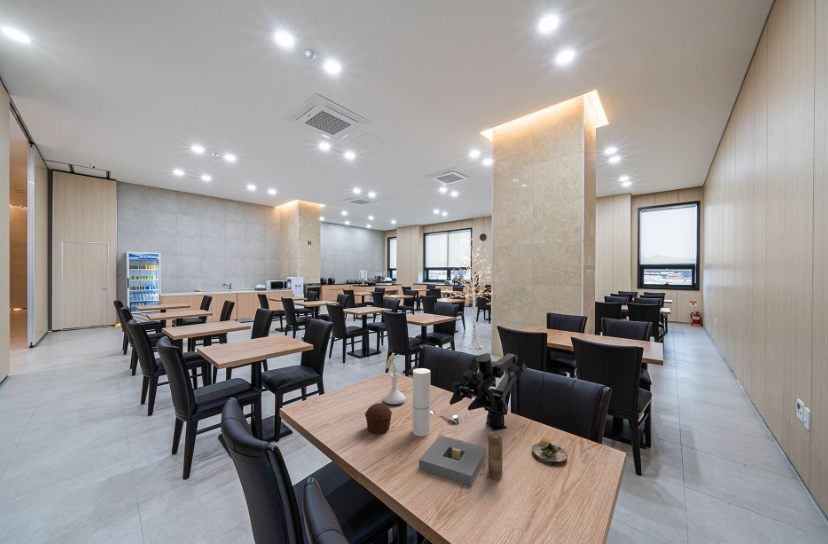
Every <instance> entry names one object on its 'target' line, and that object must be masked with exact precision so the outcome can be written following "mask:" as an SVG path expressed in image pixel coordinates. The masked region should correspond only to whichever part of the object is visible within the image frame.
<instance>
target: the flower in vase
mask: <svg viewBox="0 0 828 544" xmlns="http://www.w3.org/2000/svg"><path fill="white" fill-rule="evenodd" d="M394 360H395V354H394V353H392V354H391V355H389V357H388V360H387V361H386V364H385V369H387V370H388V369H389V368H390V367H392V368H391V371H392V373H389V377H390V378H391V384H392V385H391V390H389V391H388V392H387V393H385V395H383V398H382V400H383V402H384V403H386V404H387V405H388V404H389V405H400V404H402V403H404V402H405V401H406V395H404V394H403V392H401V391H400V390H398V378H399V376H400V373H397V368H396V366H395V364H394Z"/></svg>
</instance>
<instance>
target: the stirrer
mask: <svg viewBox="0 0 828 544" xmlns="http://www.w3.org/2000/svg"><path fill="white" fill-rule="evenodd" d="M432 414H433V416H437V417H446V418H448V419H450V420H451V421H453V422H454V423H455V424H457V425H459V424H461V423H462V419H461V417H460V416H459V415H457V414H448V415H447V414H446V415H445V414H438V413H437V412H436V411H434V410H433V409H432V408H431V407H430V415H432Z"/></svg>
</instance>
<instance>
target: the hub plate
mask: <svg viewBox="0 0 828 544" xmlns="http://www.w3.org/2000/svg"><path fill="white" fill-rule="evenodd" d="M449 456H450V457H449ZM487 457H488V447H486V446H482V445H479V444H475V443H471V442H467V441H464V440H460V439H455V438H452V437H449V436H445V435H442V434H441V435H439V436H438V437H437V438H436V440H435V441H434V442H433V443H432V444H431V445H430V446H429V448H427V450H425V452H424V453H423V454H422V456H421V457H420V458H419V459H418V469H419V470H421V471H425V472H428V473H431V474H434V475H438V476H440V477H443V478H447V479H449V480H453V481H456V482H458V483H461V484H465V485H468V486H473V484H474V481H475V480H476V477H477V476H478V474H479V472H480V471H481V468H482V466H483V464H484V462H485V460H486V458H487Z"/></svg>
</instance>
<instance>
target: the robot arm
mask: <svg viewBox="0 0 828 544" xmlns="http://www.w3.org/2000/svg"><path fill="white" fill-rule="evenodd" d="M476 363H477V369H478V371H476V370H472V369H466V370H465V371H464V373H463V375H462V378H463V379H464V380H465V381H466V386H467V387H465V386H464V384H463V383H462V382H458V381H454V382H453V383H452V384H451V387H452V390H453V394H452V396H451V397H450V401H449V404H450V406H452V405H455V404H457V403H459V402H461V401H463V399H465V398H466V396H467V395H469V396H471V398H472V399H474V400H472V401H471V403H469V405H468V407H467V410H468V411H474V410H477V409H478V410H479V409H483V408H484V412H485V411H486V412H487V415H486V422H485V425H486V426H488V427H489V428H490V429H491V430H493V431H496V430H503V429H506V428H508V427H507V425H505V416H507V415H508V411H509V406H508V405H507V402H506V400H505V399H506V396H507V395H508V393H509V391H510V389H511V388H512V386H513V384H514V383H515V381H516V380H517V379H519V378H522V377H523V376H524V375H525V373H526V371H527V365H526V364H525V361H524V360H522V359H521V358H519V357H518V355H516V354H513V353H506V354H505V355H504V356H502V357H500V359H498V360H495V361H492V357H491V354H490V353H488V352H484V354H483V353H482V354H479V355H477V356H476ZM496 378H497V379H501V380H500V381H499V384H498V385H497V379H496Z"/></svg>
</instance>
